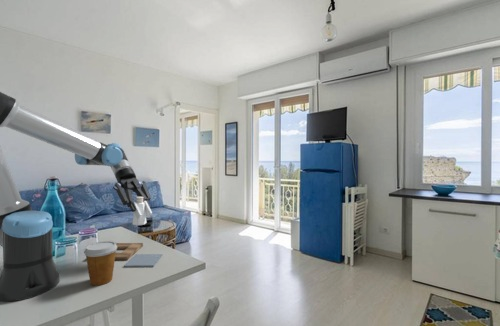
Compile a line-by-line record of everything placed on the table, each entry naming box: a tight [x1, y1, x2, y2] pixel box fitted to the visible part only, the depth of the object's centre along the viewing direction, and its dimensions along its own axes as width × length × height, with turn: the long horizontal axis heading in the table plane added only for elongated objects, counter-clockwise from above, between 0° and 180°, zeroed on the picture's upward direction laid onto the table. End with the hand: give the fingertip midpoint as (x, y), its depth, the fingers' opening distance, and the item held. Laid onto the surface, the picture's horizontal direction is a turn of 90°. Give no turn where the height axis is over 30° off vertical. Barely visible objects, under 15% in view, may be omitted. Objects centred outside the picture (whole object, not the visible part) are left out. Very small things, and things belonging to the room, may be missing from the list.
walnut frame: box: [115, 242, 144, 261], centre depth 109 cm, size 16×16×2 cm
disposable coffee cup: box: [83, 240, 117, 287], centre depth 84 cm, size 10×10×12 cm
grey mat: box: [123, 253, 163, 268], centre depth 100 cm, size 11×11×1 cm
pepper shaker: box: [132, 196, 147, 226], centre depth 103 cm, size 5×5×11 cm
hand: (145, 216), depth 101 cm, fingers closed on pepper shaker, 4 cm apart
